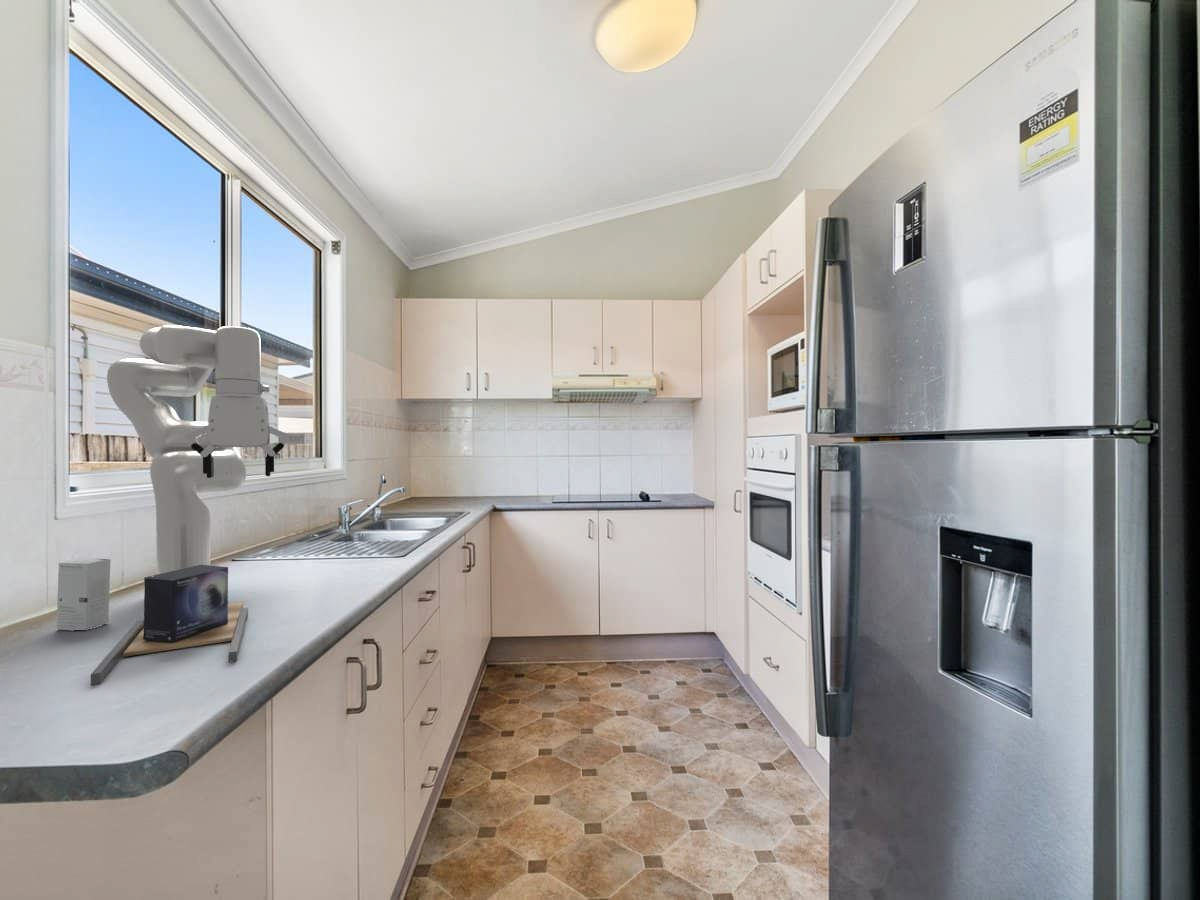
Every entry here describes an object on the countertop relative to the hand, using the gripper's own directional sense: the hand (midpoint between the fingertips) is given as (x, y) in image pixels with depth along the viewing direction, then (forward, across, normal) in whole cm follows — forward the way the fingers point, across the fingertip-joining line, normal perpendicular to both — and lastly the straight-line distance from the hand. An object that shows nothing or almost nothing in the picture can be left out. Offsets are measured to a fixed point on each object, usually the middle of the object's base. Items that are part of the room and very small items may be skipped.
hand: (239, 476), depth 108 cm
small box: (+26, +6, +13) cm, 30 cm away
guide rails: (+27, +6, +18) cm, 33 cm away
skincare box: (+27, +24, -2) cm, 36 cm away
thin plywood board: (+27, +7, +8) cm, 29 cm away
